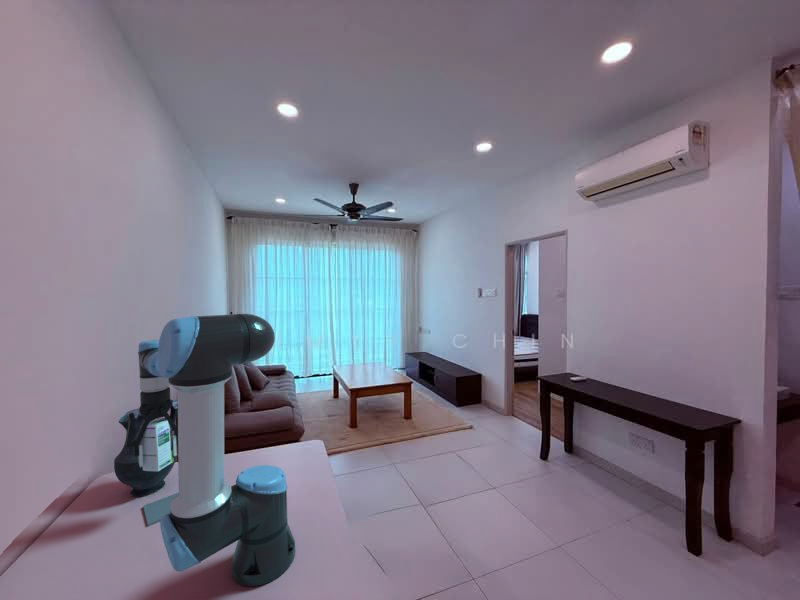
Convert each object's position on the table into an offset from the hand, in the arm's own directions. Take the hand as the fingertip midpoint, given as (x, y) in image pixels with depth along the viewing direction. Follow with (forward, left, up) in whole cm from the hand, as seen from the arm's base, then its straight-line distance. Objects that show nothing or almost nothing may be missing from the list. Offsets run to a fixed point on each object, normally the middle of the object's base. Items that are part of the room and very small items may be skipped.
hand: (158, 459), depth 100 cm
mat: (+1, -2, -17) cm, 17 cm away
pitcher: (+20, 0, -17) cm, 26 cm away
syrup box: (0, 0, -2) cm, 2 cm away
